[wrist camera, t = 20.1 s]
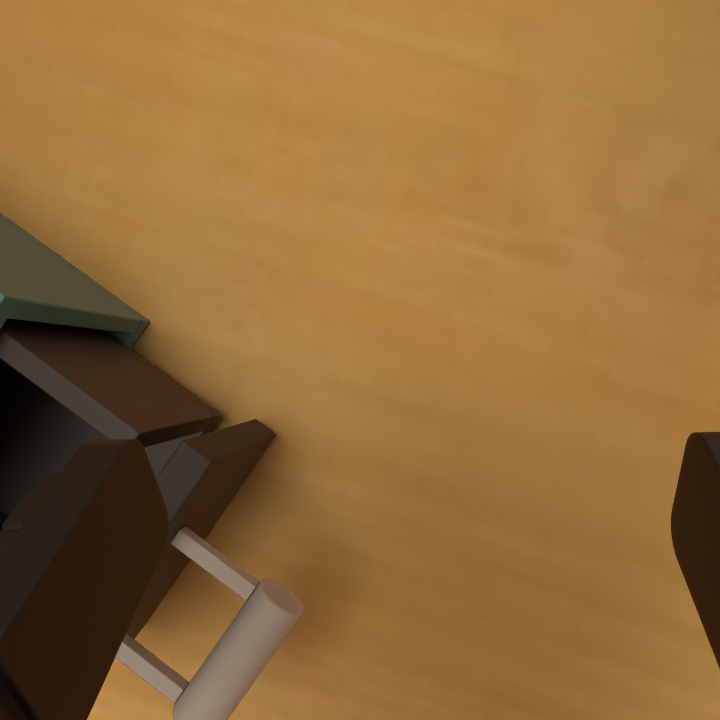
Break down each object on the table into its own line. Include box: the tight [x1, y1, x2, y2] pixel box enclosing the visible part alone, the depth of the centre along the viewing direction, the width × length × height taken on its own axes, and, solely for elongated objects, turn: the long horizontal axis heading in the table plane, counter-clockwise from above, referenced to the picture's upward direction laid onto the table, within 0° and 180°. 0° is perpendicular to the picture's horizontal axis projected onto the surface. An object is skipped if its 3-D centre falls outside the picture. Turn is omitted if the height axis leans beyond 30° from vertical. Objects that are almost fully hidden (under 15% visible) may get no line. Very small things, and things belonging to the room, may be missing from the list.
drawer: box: [0, 318, 303, 720], centre depth 25 cm, size 19×11×9 cm, turn 55°
